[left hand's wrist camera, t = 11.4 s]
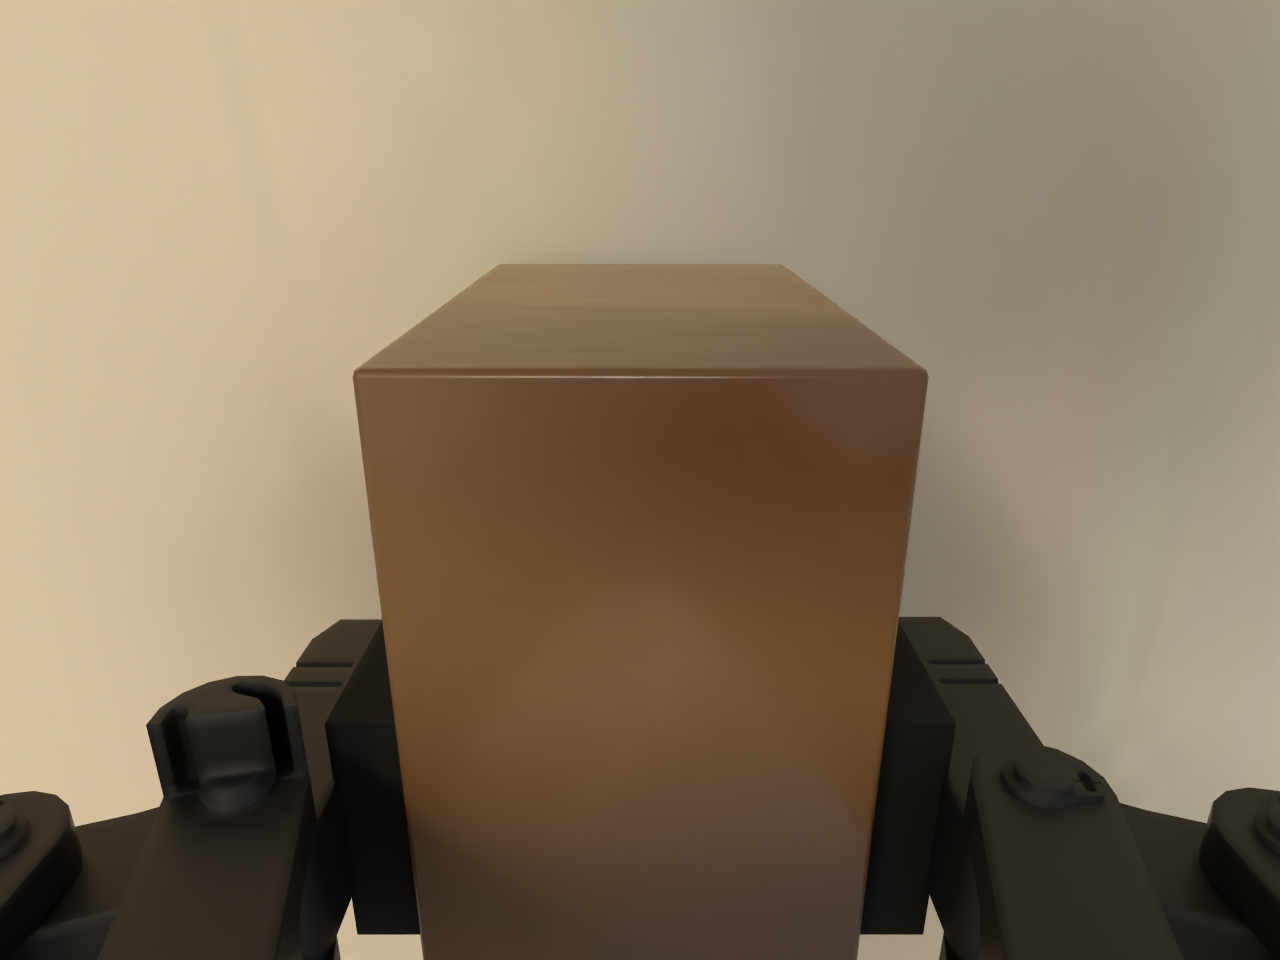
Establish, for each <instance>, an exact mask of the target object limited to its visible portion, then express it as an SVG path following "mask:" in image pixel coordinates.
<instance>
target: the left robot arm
mask: <svg viewBox="0 0 1280 960" xmlns="http://www.w3.org/2000/svg"><path fill="white" fill-rule="evenodd" d="M146 726H147V730H148V734H149V739H150V743H151V747H152V751H153V755H154V759H155V763H156V767H157V771H158V775H159V779H160V783H161V787H162V791H163V795H164V797H163V800H162V802H161V805H160V807H157V808H154V809H150V810H147V811H143V812H140V813H136V814H132V815H127V816H123V817H118V818H113V819H109V820H104V821H100V822H95V823H90V824H86V825H81V826H77V827H75V826H74V822H73V819H72V816H71V812H70V809H69V806H68V805H67V804H66V803H65V802H64V801H63V800H61V799H60V798H59V797H58V796H57V795H54V794H48V793H42V792H36V791H30V792H21V793H13V794H4V795H1V796H0V960H341V959H340V952H339V946H338V940H337V933H338V931H339V928H340V926H341V923H342V920H343V918H344V915H345V913H346V910H347V908H348V905H349V902H350V900H351V897H352V902H353V908H354V915H355V921H356V927H357V934H420V927H419V919H418V911H417V902H416V894H415V886H414V878H413V869H412V861H411V853H410V845H409V836H408V828H407V820H406V812H405V803H404V795H403V787H402V779H401V770H400V762H399V754H398V746H397V738H396V729H395V721H394V713H393V705H392V696H391V688H390V680H389V672H388V663H387V655H386V647H385V639H384V630H383V622H382V620H340V621H338V622H337V623H335V624H334V625H332V626H331V627H330V628H328V629H327V630H325V631H324V632H322V633H321V634H319V635H318V636H317V637H315V638H314V639H312V641H311V642H310V644H309V645H308V646H307V648H306V649H305V651H304V652H303V654H302V655H301V657H300V658H299V660H298V661H297V663H296V667H293V668H292V670H291V671H290V673H289V674H288V676H287V677H286V679H285V680H284V681H282V680H278V679H274V678H270V677H266V676H236V677H231V678H227V679H222V680H217V681H213V682H209V683H206V684H204V685H201V686H199V687H196V688H194V689H192V690H189V691H187V692H184V693H182V694H180V695H179V696H177V697H176V698H174V699H173V700H171V701H170V702H168V703H167V704H165V705H164V706H162V707H161V708H160V709H159V710H158V711H157V712H156V714H155V715H154V716H153V717H152V719H151V720H150V721H149V722H148V723H147V725H146ZM929 894H930V897H931V899H932V902H933V904H934V907H935V910H936V912H937V915H938V917H939V920H940V922H941V925H942V927H943V930H944V934H943V940H942V946H941V952H940V958H939V960H1280V791H1274V790H1265V789H1257V788H1243V789H1237V790H1230V791H1226V792H1225V793H1223V794H1222V795H1221V796H1220V797H1219V798H1217V799H1216V800H1215V801H1214V802H1213V805H1212V808H1211V812H1210V815H1209V818H1208V822H1207V823H1202V822H1197V821H1193V820H1188V819H1184V818H1179V817H1174V816H1170V815H1165V814H1161V813H1156V812H1151V811H1147V810H1143V809H1139V808H1136V807H1132V806H1129V805H1125V804H1122V803H1119V801H1118V798H1117V796H1116V794H1115V793H1114V792H1113V790H1112V789H1111V787H1110V786H1109V784H1108V783H1107V781H1106V780H1105V779H1104V777H1102V776H1101V775H1100V774H1099V773H1097V772H1096V771H1095V770H1093V769H1092V768H1091V767H1089V766H1088V765H1087V764H1086V763H1084V762H1083V761H1081V760H1079V759H1077V758H1075V757H1073V756H1070V755H1068V754H1066V753H1064V752H1062V751H1060V750H1058V749H1054V748H1050V747H1046V746H1044V745H1043V744H1042V742H1041V741H1040V740H1039V738H1038V737H1037V735H1036V734H1035V732H1034V731H1033V729H1032V728H1031V726H1030V725H1029V724H1028V722H1027V721H1026V719H1025V718H1024V716H1023V715H1022V713H1021V712H1020V711H1019V709H1018V708H1017V706H1016V705H1015V703H1014V702H1013V700H1012V699H1011V697H1010V696H1009V695H1008V693H1007V692H1006V690H1005V689H1004V687H1003V686H1002V684H998V679H997V677H996V676H995V674H994V673H993V671H992V670H991V668H990V667H989V665H988V664H985V660H984V658H983V657H982V655H981V654H980V652H979V651H978V649H977V648H976V647H975V645H974V644H973V642H972V641H971V639H970V638H969V637H968V636H967V635H965V634H964V633H963V632H961V631H960V630H958V629H957V628H955V627H954V626H952V625H951V624H950V623H948V622H947V621H945V620H944V619H942V618H941V617H899V620H898V628H897V637H896V645H895V653H894V661H893V669H892V677H891V685H890V693H889V702H888V710H887V718H886V726H885V734H884V742H883V750H882V759H881V767H880V775H879V783H878V791H877V799H876V807H875V816H874V824H873V832H872V840H871V848H870V856H869V864H868V872H867V881H866V889H865V897H864V905H863V913H862V921H861V929H860V934H923V931H924V925H925V918H926V912H927V906H928V899H929Z"/></svg>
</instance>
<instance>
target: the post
mask: <svg viewBox="0 0 1280 960" xmlns="http://www.w3.org/2000/svg"><path fill="white" fill-rule="evenodd" d="M353 383H354V391H355V400H356V408H357V416H358V424H359V432H360V441H361V449H362V457H363V465H364V474H365V482H366V490H367V498H368V507H369V515H370V523H371V531H372V540H373V548H374V556H375V564H376V573H377V581H378V589H379V597H380V606H381V614H382V622H383V630H384V639H385V647H386V655H387V663H388V672H389V680H390V688H391V696H392V705H393V713H394V721H395V729H396V738H397V746H398V754H399V762H400V770H401V779H402V787H403V795H404V803H405V812H406V820H407V828H408V836H409V845H410V853H411V861H412V869H413V878H414V886H415V894H416V902H417V911H418V919H419V927H420V935H421V944H422V952H423V960H857V954H858V946H859V938H860V929H861V921H862V913H863V905H864V897H865V889H866V881H867V872H868V864H869V856H870V848H871V840H872V832H873V824H874V816H875V807H876V799H877V791H878V783H879V775H880V767H881V759H882V750H883V742H884V734H885V726H886V718H887V710H888V702H889V693H890V685H891V677H892V669H893V661H894V653H895V645H896V637H897V628H898V620H899V612H900V604H901V596H902V588H903V580H904V571H905V563H906V555H907V547H908V539H909V531H910V523H911V515H912V506H913V498H914V490H915V482H916V474H917V466H918V458H919V449H920V441H921V433H922V425H923V417H924V409H925V401H926V393H927V384H928V374H927V371H926V370H925V369H924V368H922V367H921V366H920V365H918V364H917V363H915V362H914V361H913V360H911V359H910V358H909V357H907V356H906V355H905V354H903V353H902V352H900V351H899V350H898V349H896V348H895V347H894V346H892V345H891V344H889V343H888V342H887V341H885V340H884V339H883V338H881V337H880V336H879V335H877V334H876V333H874V332H873V331H872V330H870V329H869V328H868V327H866V326H865V325H864V324H862V323H861V322H859V321H858V320H857V319H855V318H854V317H853V316H851V315H850V314H849V313H847V312H846V311H844V310H843V309H842V308H840V307H839V306H838V305H836V304H835V303H833V302H832V301H831V300H829V299H828V298H827V297H825V296H824V295H823V294H821V293H820V292H818V291H817V290H816V289H814V288H813V287H812V286H810V285H809V284H808V283H806V282H805V281H803V280H802V279H801V278H799V277H798V276H797V275H795V274H794V273H793V272H791V271H790V270H788V269H787V268H786V267H784V266H783V265H629V264H500V265H498V266H496V267H495V268H494V269H492V270H491V271H489V272H488V273H487V274H485V275H484V276H483V277H481V278H480V279H478V280H477V281H476V282H474V283H473V284H472V285H470V286H469V287H468V288H466V289H465V290H463V291H462V292H461V293H459V294H458V295H457V296H455V297H454V298H453V299H451V300H450V301H448V302H447V303H446V304H444V305H443V306H442V307H440V308H439V309H438V310H436V311H435V312H433V313H432V314H431V315H429V316H428V317H427V318H425V319H424V320H423V321H421V322H420V323H418V324H417V325H416V326H414V327H413V328H412V329H410V330H409V331H408V332H406V333H405V334H403V335H402V336H401V337H399V338H398V339H397V340H395V341H394V342H393V343H391V344H390V345H388V346H387V347H386V348H384V349H383V350H382V351H380V352H379V353H378V354H376V355H375V356H373V357H372V358H371V359H369V360H368V361H367V362H365V363H364V364H362V365H361V366H360V367H358V368H357V369H356V370H355V371H354V374H353Z"/></svg>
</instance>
